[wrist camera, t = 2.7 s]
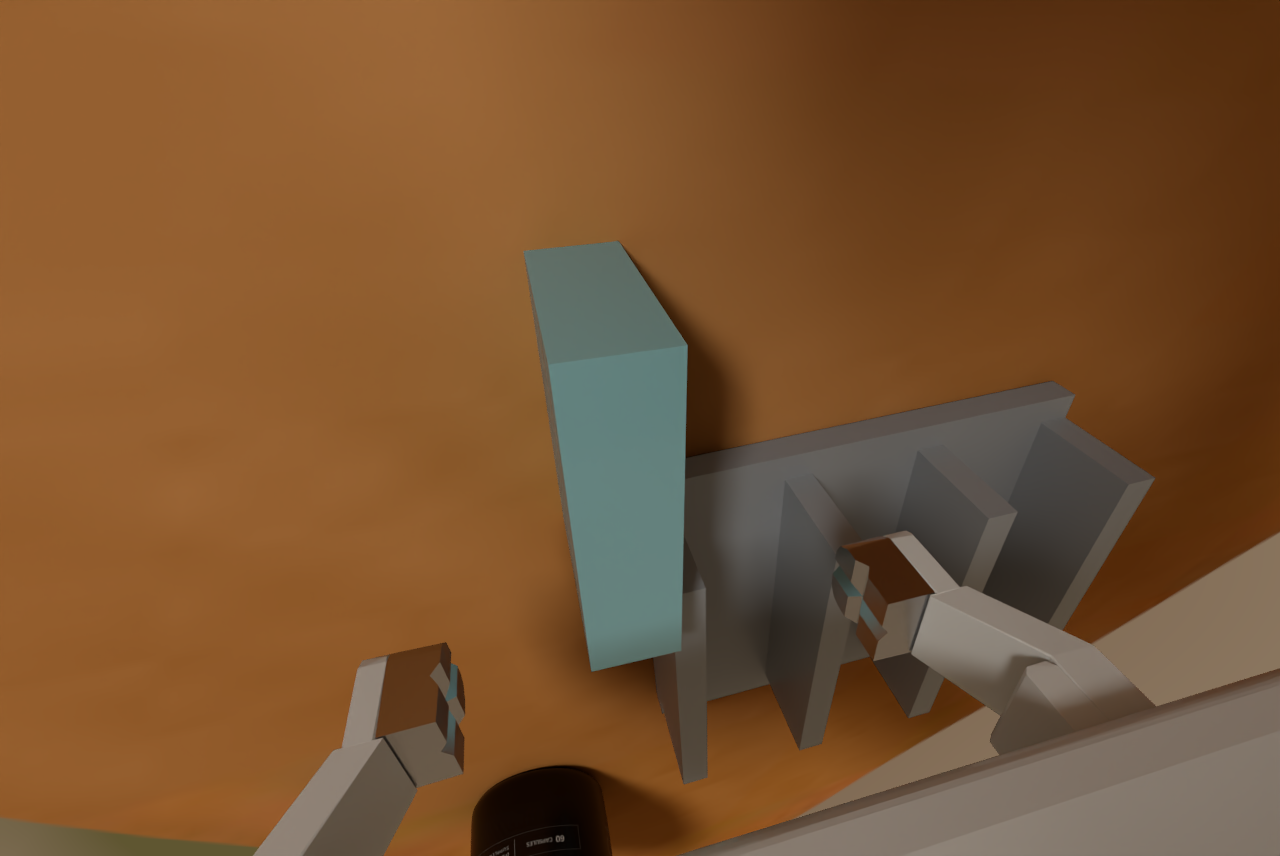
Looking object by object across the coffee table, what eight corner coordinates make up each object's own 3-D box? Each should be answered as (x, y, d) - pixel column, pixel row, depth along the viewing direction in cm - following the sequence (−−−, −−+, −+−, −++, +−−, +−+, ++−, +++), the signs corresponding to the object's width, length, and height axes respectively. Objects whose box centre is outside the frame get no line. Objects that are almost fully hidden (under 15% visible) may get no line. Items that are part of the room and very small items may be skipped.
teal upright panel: (523, 250, 14) (547, 364, 9) (618, 240, 15) (687, 345, 10) (562, 512, 19) (591, 671, 15) (631, 500, 20) (681, 650, 15)
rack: (632, 469, 19) (669, 573, 15) (1052, 381, 21) (1170, 453, 18) (656, 693, 27) (684, 794, 24) (957, 612, 29) (1023, 693, 26)
